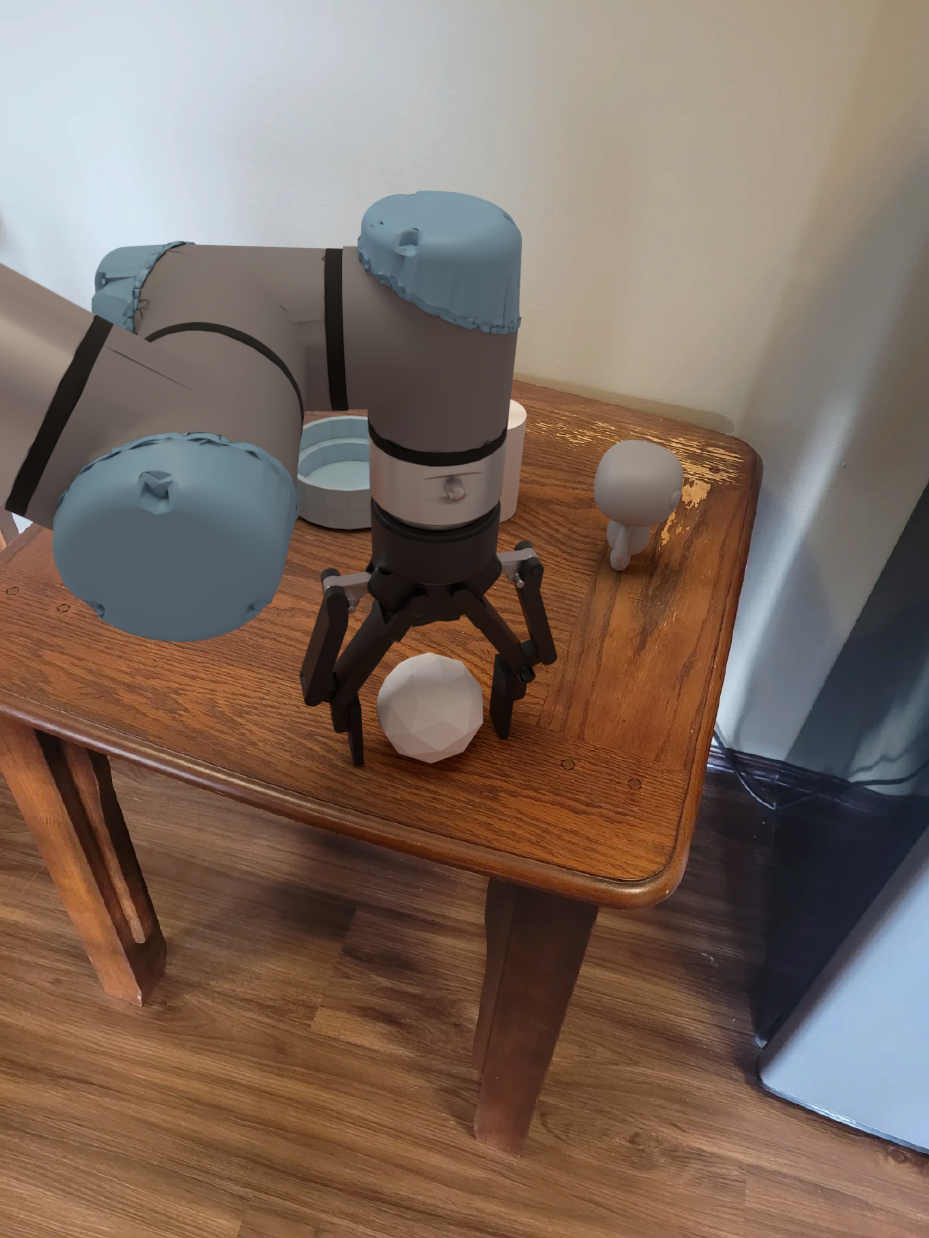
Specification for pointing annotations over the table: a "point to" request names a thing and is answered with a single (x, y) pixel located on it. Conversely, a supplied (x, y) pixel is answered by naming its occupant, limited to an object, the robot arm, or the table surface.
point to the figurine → (636, 494)
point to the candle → (512, 460)
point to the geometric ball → (430, 707)
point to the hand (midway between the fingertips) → (428, 738)
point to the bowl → (335, 473)
